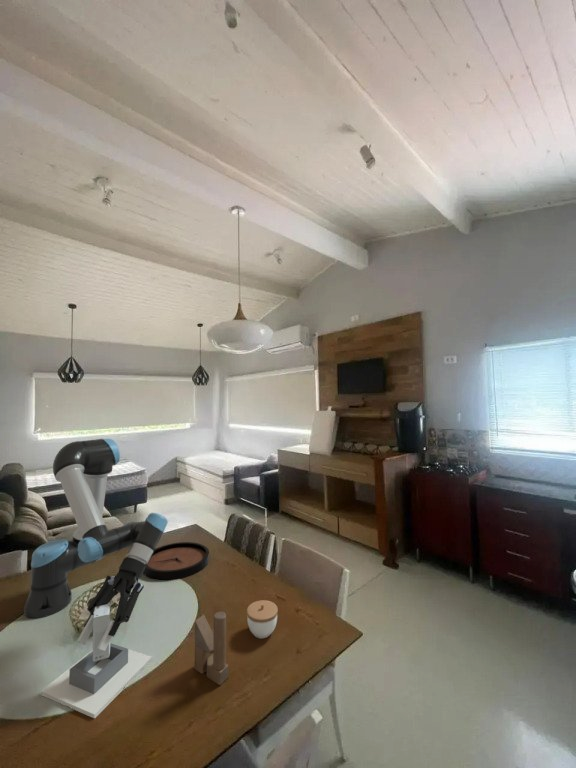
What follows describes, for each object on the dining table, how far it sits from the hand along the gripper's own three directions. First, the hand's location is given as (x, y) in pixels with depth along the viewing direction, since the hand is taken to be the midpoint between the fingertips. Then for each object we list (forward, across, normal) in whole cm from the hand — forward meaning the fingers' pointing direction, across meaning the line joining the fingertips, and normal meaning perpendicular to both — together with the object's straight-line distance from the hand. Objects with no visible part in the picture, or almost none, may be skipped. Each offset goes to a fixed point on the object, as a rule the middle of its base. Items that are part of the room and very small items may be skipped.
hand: (90, 645), depth 94 cm
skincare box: (+1, 0, -6) cm, 6 cm away
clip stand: (+5, +1, -10) cm, 12 cm away
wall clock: (-39, +24, -55) cm, 72 cm away
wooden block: (-3, -29, -19) cm, 35 cm away
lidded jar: (-18, -36, -34) cm, 53 cm away
